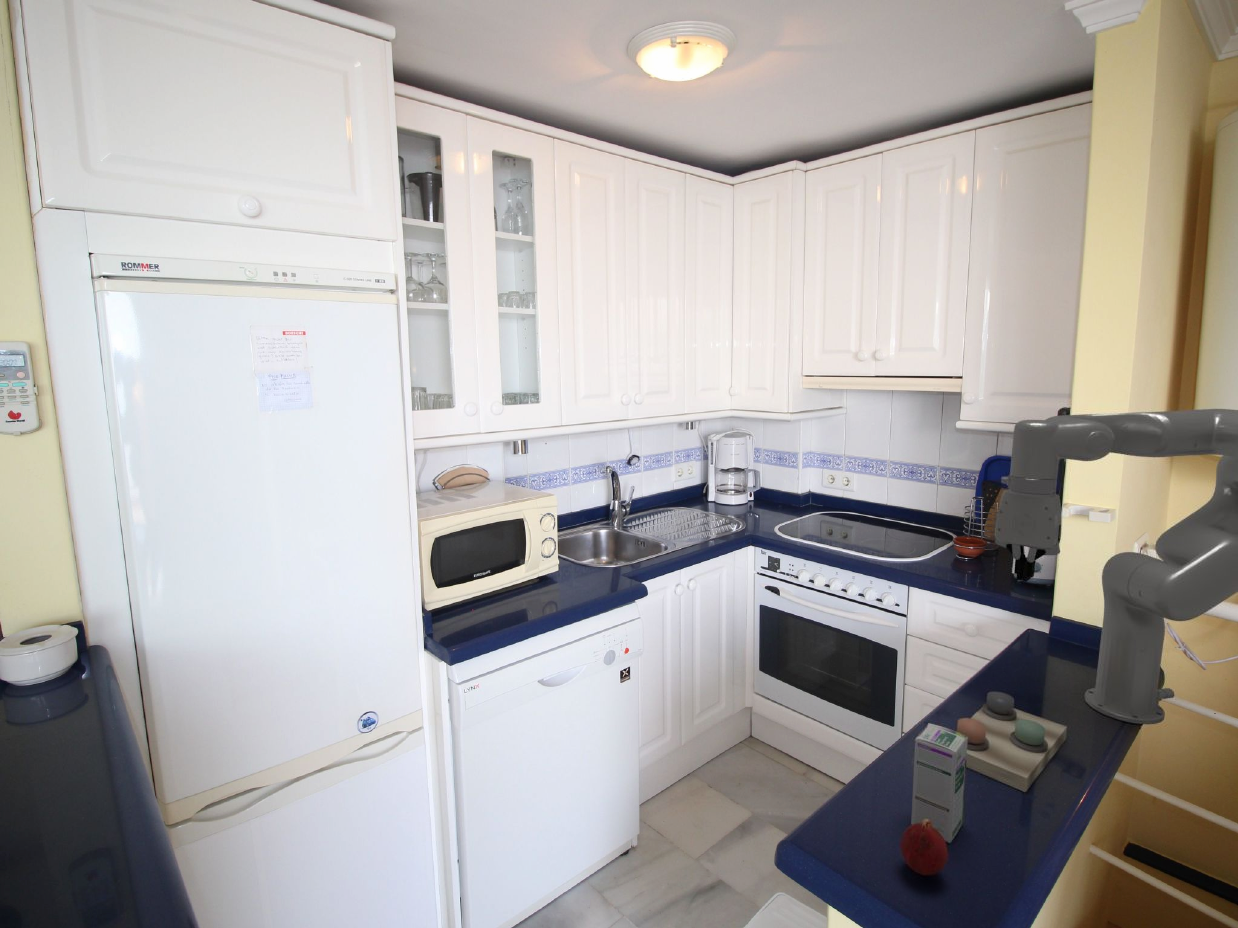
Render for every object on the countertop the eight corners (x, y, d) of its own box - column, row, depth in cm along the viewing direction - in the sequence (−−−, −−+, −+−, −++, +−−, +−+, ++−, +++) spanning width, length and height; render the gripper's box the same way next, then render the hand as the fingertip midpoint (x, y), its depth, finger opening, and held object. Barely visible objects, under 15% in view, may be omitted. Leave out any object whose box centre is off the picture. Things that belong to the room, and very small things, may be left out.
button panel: (988, 711, 129) (990, 696, 129) (1065, 739, 120) (1067, 723, 119) (942, 756, 115) (943, 739, 114) (1025, 792, 105) (1027, 774, 105)
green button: (1019, 727, 117) (1020, 716, 117) (1047, 738, 114) (1048, 726, 113) (1010, 737, 114) (1011, 725, 114) (1039, 748, 111) (1040, 736, 111)
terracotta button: (962, 726, 118) (963, 715, 117) (989, 736, 114) (990, 725, 114) (952, 735, 115) (953, 724, 114) (979, 746, 111) (980, 734, 111)
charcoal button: (991, 699, 127) (992, 689, 126) (1016, 708, 124) (1017, 697, 123) (982, 707, 124) (983, 696, 124) (1008, 716, 121) (1009, 705, 120)
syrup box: (951, 844, 94) (958, 752, 92) (908, 825, 98) (914, 736, 96) (963, 824, 98) (970, 735, 96) (921, 806, 102) (928, 720, 100)
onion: (940, 897, 85) (944, 842, 83) (894, 876, 88) (897, 823, 87) (949, 869, 89) (953, 817, 88) (905, 851, 93) (908, 800, 92)
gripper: (981, 483, 126) (974, 574, 129) (1073, 494, 115) (1063, 594, 118) (996, 478, 131) (988, 566, 133) (1085, 488, 120) (1075, 584, 122)
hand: (1023, 579), depth 126 cm, fingers closed
